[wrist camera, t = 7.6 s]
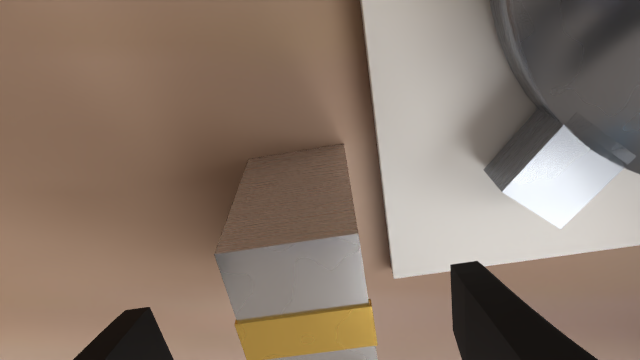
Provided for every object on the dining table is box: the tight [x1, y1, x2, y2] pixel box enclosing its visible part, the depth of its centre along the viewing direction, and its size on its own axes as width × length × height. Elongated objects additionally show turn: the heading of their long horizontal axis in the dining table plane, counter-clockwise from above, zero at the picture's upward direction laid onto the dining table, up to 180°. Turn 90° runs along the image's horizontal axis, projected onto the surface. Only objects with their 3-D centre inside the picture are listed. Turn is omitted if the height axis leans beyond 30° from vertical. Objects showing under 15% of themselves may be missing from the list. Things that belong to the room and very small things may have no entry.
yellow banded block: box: [214, 144, 378, 360], centre depth 12 cm, size 5×3×5 cm, turn 10°
